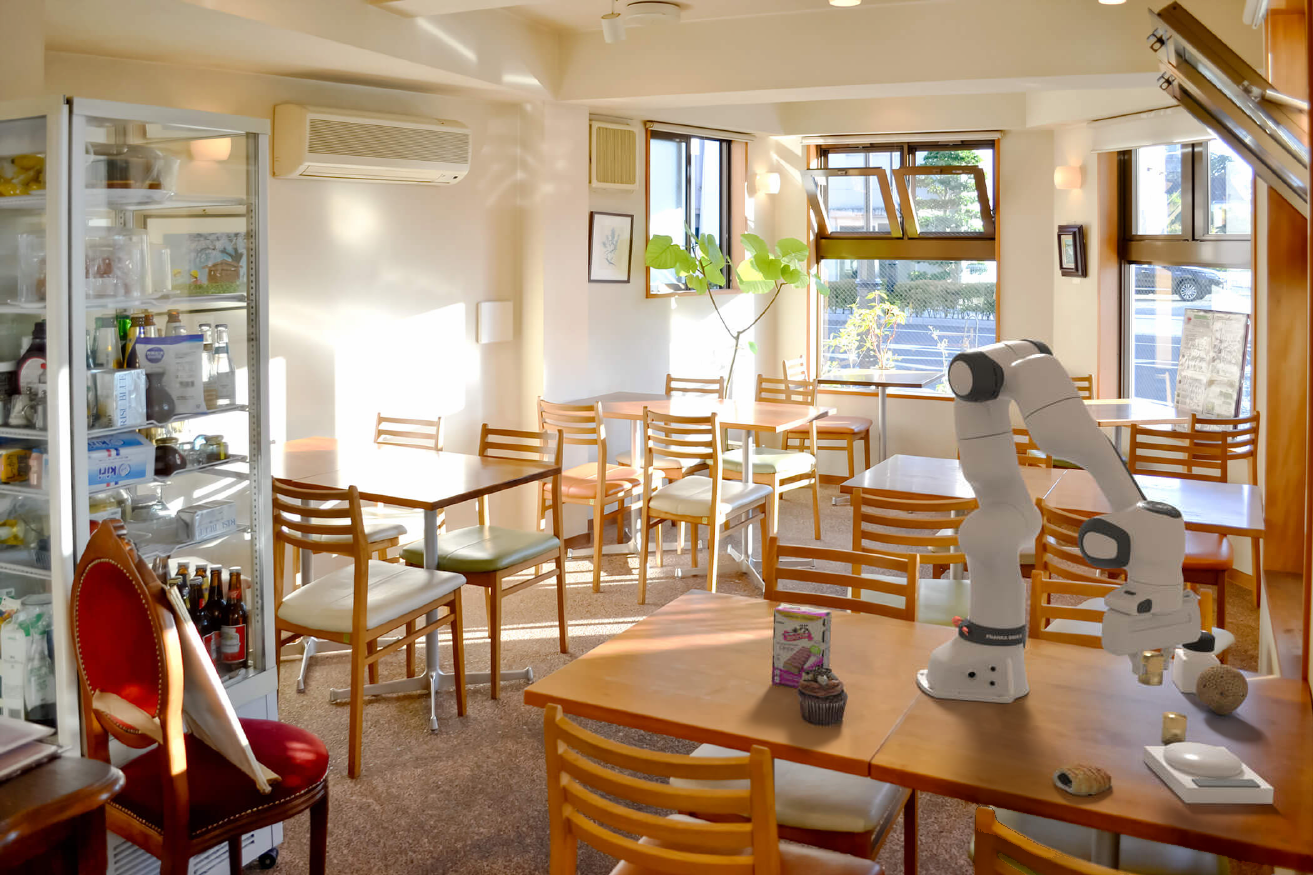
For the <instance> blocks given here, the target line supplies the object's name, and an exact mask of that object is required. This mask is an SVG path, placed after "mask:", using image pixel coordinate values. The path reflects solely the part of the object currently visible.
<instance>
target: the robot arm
mask: <svg viewBox="0 0 1313 875" xmlns="http://www.w3.org/2000/svg"><path fill="white" fill-rule="evenodd" d="M1053 354H1054V353H1053V352H1052V350H1051V349H1050V348H1049V346H1048V345H1047V344H1046V343H1045V342H1042V341H1040V340H1036V339H1029V338H1028V339H1027V338H1025V339H1020V340H1010V341H1009V340H1006V341H999V342H994V343H992V344H987V345H983V346H980V347H977V348H969V349H966V350H964V351H961V352H960V353H957V354H956V355H955V356H954V357H952V359H951V360H950V363H949V365H948V368H947V382H948V385H949V387H950V390H951V391H952V394H954V401H953V402H954V403H953V404H954V405H953V406H954V407H953V410H954V411H953V412H954V414H953V415H954V418H953V419H954V428H955V437H956V441H957V448H958V453H959V459H960V464H961V470H962V471H961V472H962V475H963V478H964V480H965V481H966V482H967V483H968V484H969V486H970V487H971V489H972V491H973V493H974V495H975V499H976V500H977V503H978V506H979V507H978V508H977V509H975V510H973V511H971V512H970V513H969V514H968V515H967V516H966V518H965V519H964V520H963V521H962V522H961V523H960V526H959V528H958V531H957V541H958V545H959V547H960V549H961V551H962V553H963V554H964V556H965V559H966V565H967V570H968V578H969V579H968V580H969V596H968V597H969V598H968V599H969V604H968V616H967V617H966V618H964V619H962V618H961V617H960V616H959V615H956V616H955V615H954V616H953V618H951V623H952V625H953V626H954V627H955V628H957V629H958V630H957V633H958V634H957V635H955V636H953V637H952V638H951V639H950V640H948V641H946V642H945V643H943V644H942V645H940V646H938V647H937V648H935V649H933V651H932V653H931V655H930V658H929V660H928V661H929V662H928V666H927V668H926V669H920V670H918V672H917V674H916V682H917V685H918V686H919V687H920V689H921V690H922V691H924V693H926V694H928V695H930V696H932V697H933V698H937V699H951V700H963V701H973V702H975V701H976V702H977V701H978V702H986V703H987V702H989V703H998V704H999V703H1001V704H1003V703H1004V704H1011V703H1013V701H1015V699H1017V698H1020V697H1023V696H1026V695H1027V694H1028V693H1029V691H1030V686H1029V684H1028V679H1027V673H1026V666H1025V649H1026V644H1027V637H1028V635H1027V634H1028V633H1027V632H1028V631H1027V622H1025V617H1026V600H1027V585H1026V583H1025V581H1024V579H1023V577H1022V576H1023V575H1022V573H1021V566H1020V553H1021V550H1023V549H1025V548H1027V547H1028V546H1030V545H1031V544H1033V542H1034V541H1035V540H1036V538H1037V537H1038V536H1039V534H1040V532H1041V530H1042V527H1043V516H1042V513H1041V511H1040V509H1039V508H1038V506H1037V505H1036V504H1035V503H1034V502H1033V500H1032V498H1031V495H1030V493H1029V490H1028V488H1027V485H1026V483H1025V480H1024V477H1023V475H1022V472H1021V468H1020V464H1019V460H1018V453H1017V448H1016V443H1015V442H1016V441H1015V437H1014V433H1013V425H1012V422H1011V417H1010V405H1011V403H1012V401H1014V402H1015V404H1016V406H1017V407H1018V410H1019V413H1020V415H1021V418H1022V419H1023V423H1024V425H1025V426H1026V429H1027V432H1028V434H1029V436H1030V437H1031V440H1032V441H1033V442H1034V444H1035V445H1036V446H1037V448H1038V449H1039V450H1040V451H1041V452H1043V453H1045V454H1046V455H1048V456H1050V457H1053V458H1055V459H1060V460H1062V461H1066V462H1069V463H1072V464H1074V465H1076V466H1078V467H1080V468H1082V469H1084V470H1085V471H1086V472H1087V473H1089V475H1090V476H1091V477H1092V478H1093V479H1094V481H1095V482H1096V484H1097V486H1098V488H1099V489H1100V491H1101V493H1102V494H1103V496H1104V498H1105V500H1106V502H1107V503H1108V505H1109V506H1110V508H1111V510H1112V512H1109V513H1104V514H1100V515H1096V516H1093V517H1091V518H1088V519H1087V520H1085V521H1084V522H1083V523H1082V524H1081V525H1080V527H1079V530H1078V534H1077V545H1078V550H1079V553H1080V554H1081V556H1082V557H1083V559H1084V560H1085V561H1086V562H1087V563H1088V564H1089V565H1091V566H1093V567H1095V568H1098V569H1099V568H1102V569H1124V570H1126V572H1127V581H1126V582H1124V583H1123V584H1121V585H1120V586H1119V587H1117V588H1115V589H1114V590H1112V591H1110V592H1109V593H1107V594H1106V595H1104V598H1103V599H1104V601H1103V603H1104V606H1105V607H1106V608H1107V609H1106V611H1105V612H1104V614H1103V618H1102V623H1101V624H1102V627H1101V646H1102V647H1103V650H1104V651H1105V652H1106V653H1109V654H1110V655H1111V654H1112V655H1115V656H1117V657H1121V656H1122V657H1123V656H1126V655H1127V656H1128V658H1129V660H1130V662H1131V664H1132V667H1131V672H1132V674H1133V675H1136V676H1137V677H1138V676H1140V675H1144V674H1146V669H1147V665H1144V664H1143V663H1142V660H1141V658H1140V657H1143V652H1144V651H1154V650H1159V649H1161V650H1160V652H1159V653H1161V654H1163V655H1164V664H1163V672H1164V671H1168V670H1169V669H1170V661H1171V659H1172V657H1173V656H1174V655H1175V649H1176V646H1182V644H1186V643H1191V642H1196V641H1198V639H1199V637H1200V635H1201V630H1202V624H1201V623H1202V620H1201V618H1202V617H1201V611H1200V606H1199V604H1198V603H1199V597H1198V595H1197V594H1196V592H1194V591H1193V590H1192V589H1184V575H1183V572H1182V571H1183V569H1182V568H1183V563H1184V560H1185V558H1186V527H1185V526H1186V525H1185V520H1184V516H1183V514H1182V512H1181V511H1180V510H1179V509H1178V508H1177V507H1175V506H1173V505H1171V504H1169V503H1166V502H1162V501H1157V500H1156V501H1155V500H1148V498H1147V496H1146V494H1144V492H1143V490H1142V489H1141V486H1140V485H1139V484H1138V482H1137V480H1136V479H1135V477H1134V475H1133V473H1132V472H1131V471H1130V468H1129V467H1128V464H1127V463H1126V462H1125V460H1124V458H1123V457H1122V455H1121V454H1120V452H1119V451H1118V449H1117V447H1116V446H1115V445H1114V443H1113V442H1112V440H1111V439H1110V438H1109V436H1107V435H1106V434H1105V433H1104V432H1103V430H1102V429H1101V427H1099V425H1098V423H1097V422H1096V421H1095V420H1094V418H1093V416H1092V415H1091V413H1090V411H1089V410H1088V408H1087V406H1086V404H1085V402H1084V400H1083V397H1082V396H1081V394H1080V392H1079V390H1078V387H1077V386H1076V384H1075V382H1074V380H1073V379H1072V377H1071V376H1070V374H1069V373H1068V371H1067V369H1065V367H1064V366H1063V365H1062V363H1061V362H1060V360H1059V359H1058V358H1057V357H1055V356H1054V355H1053Z"/></svg>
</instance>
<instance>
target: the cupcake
mask: <svg viewBox="0 0 1313 875" xmlns="http://www.w3.org/2000/svg"><path fill="white" fill-rule="evenodd" d="M823 669H824V670H826V671H824V670H823ZM844 686H845V685H844V682H843V681H842V680H841V679H840V678H839V677H838V675H837V674H836V673H834V672H833V671H832V668H830V667H829V668H822V667H821V665H816V667H815V668H814V669H812V670H805V671H804V672H803V674H802V679H801V680H800V682H799V687H798V688H797V690H796V694H797V698H798V702H799V706H800V707H799V708H800V714H801V719H802V720H803V721H804V722H806V723H808V724H811V725H813V726H817V727H818V726H819V727H830V726H836V725H839V724H841V723H842V722H843V720H844V714H845V710H846V706H847V703H848V698H849V696H848V693H847V691H845V690H844Z"/></svg>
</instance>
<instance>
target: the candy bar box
mask: <svg viewBox="0 0 1313 875" xmlns="http://www.w3.org/2000/svg"><path fill="white" fill-rule="evenodd" d="M831 629H832V610H830V609H829V610H828V609H822V608H815V607H809V606H802V605H795V604H787V603H779V605H777V606H776V607H775V608H774V609H773V637H772V639H773V640H772V641H773V642H772V664H771V665H772V666H771V667H772V669H771V671H772V672H771V684H772V685H777V686H784V687H789V688H794V689H798V687H799V682H800V680H801V679H802V674H803V672H804V671H805V670H812V669H814V668H815V667H816V665H821V667H822V668H829V669H830V664H831V662H830V660H831V659H830V657H831V634H832V633H831V632H832V630H831ZM823 670H824V669H823ZM824 671H826V670H824Z"/></svg>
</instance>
